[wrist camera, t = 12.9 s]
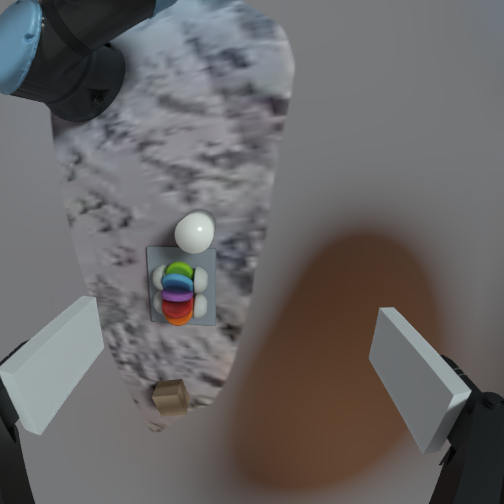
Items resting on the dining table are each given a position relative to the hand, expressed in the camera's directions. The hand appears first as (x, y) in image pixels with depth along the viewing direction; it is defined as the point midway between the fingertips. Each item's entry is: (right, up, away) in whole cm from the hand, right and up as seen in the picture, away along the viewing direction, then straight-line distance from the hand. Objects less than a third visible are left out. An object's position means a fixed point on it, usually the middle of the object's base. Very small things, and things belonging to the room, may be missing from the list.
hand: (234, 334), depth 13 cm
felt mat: (-10, -2, +36) cm, 38 cm away
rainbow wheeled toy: (-10, -2, +36) cm, 37 cm away
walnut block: (-14, -23, +42) cm, 50 cm away
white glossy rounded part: (-7, +8, +34) cm, 35 cm away
